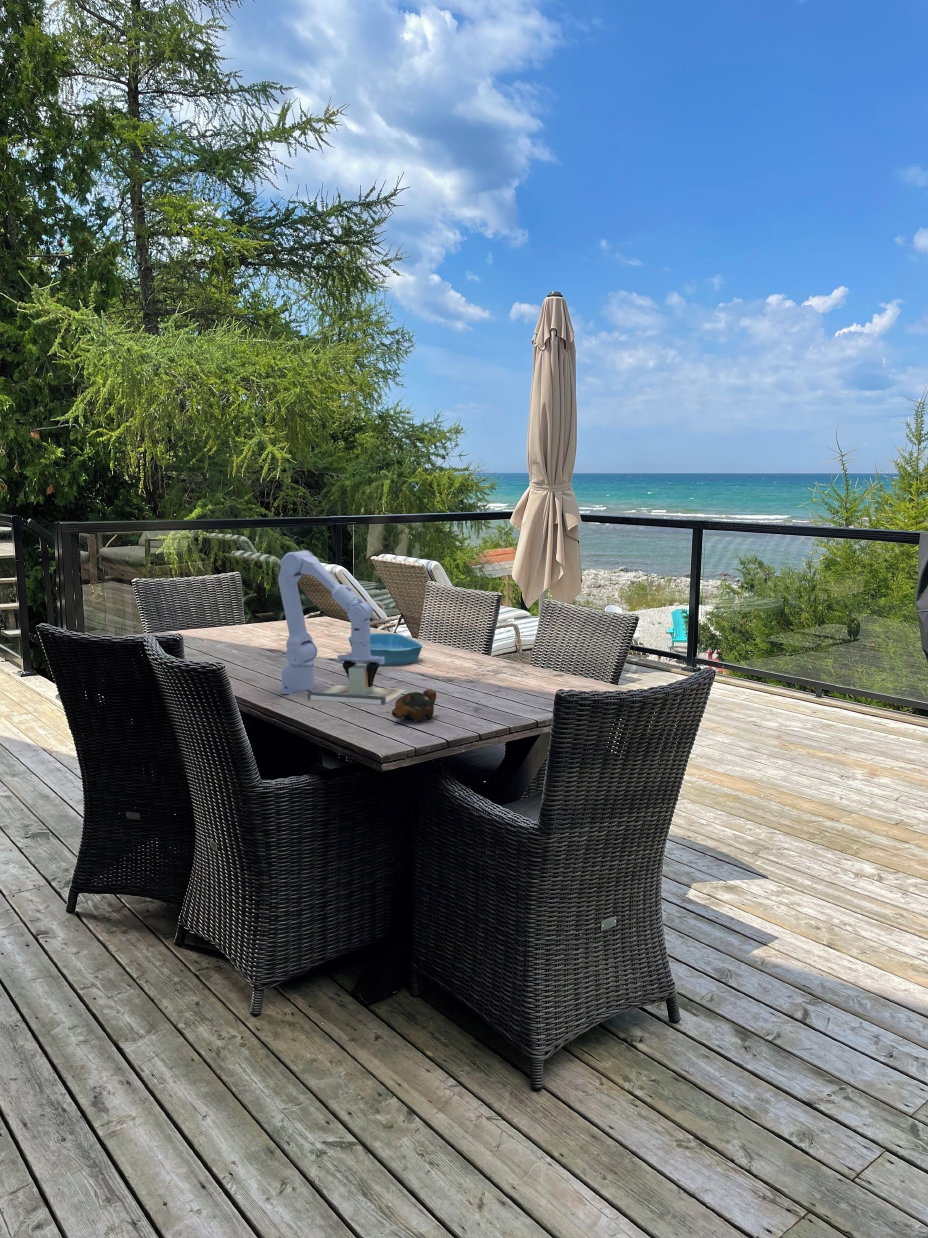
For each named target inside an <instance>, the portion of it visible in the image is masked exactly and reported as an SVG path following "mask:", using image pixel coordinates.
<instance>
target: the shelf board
mask: <svg viewBox="0 0 928 1238" xmlns="http://www.w3.org/2000/svg"><path fill="white" fill-rule="evenodd" d="M406 691H407V689H399V688H398V689H397V688H396V689H395V688H383V687H382V688H381V687H380V688H378V687H373V691H371V692H369V693H368V694H366V695H367V696H382V697H386V704H388V703H389V702H391V701H392V700H393V699H395V698H397V697H398V696H400V695H401V694H402V693H404V692H406ZM320 692H321V693H336V694H349V685H332V686H330V687H328V688H326V689H324V690H323V691H320Z"/></svg>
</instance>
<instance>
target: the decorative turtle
mask: <svg viewBox="0 0 928 1238" xmlns="http://www.w3.org/2000/svg"><path fill="white" fill-rule="evenodd" d="M436 700H437V693H436V691H435V689H426V690H424V691H423V692H419V691H413V692H408V693H406V694H403V695H402V696H400V697H399V698H398V699H397V700H396V701H395V704H394V708H393V709H392V710H391V715H392V716H393V718H395V719H396V720H397V719H404V720H408V719H409V718H410V717H411V718H412V720H413V721H414V722H415V723H420V721H421V720H422V719H423V718H424V719H425V720H427V721H428V720H429V721H431V719H433V715H434V712H435V703H436Z"/></svg>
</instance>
